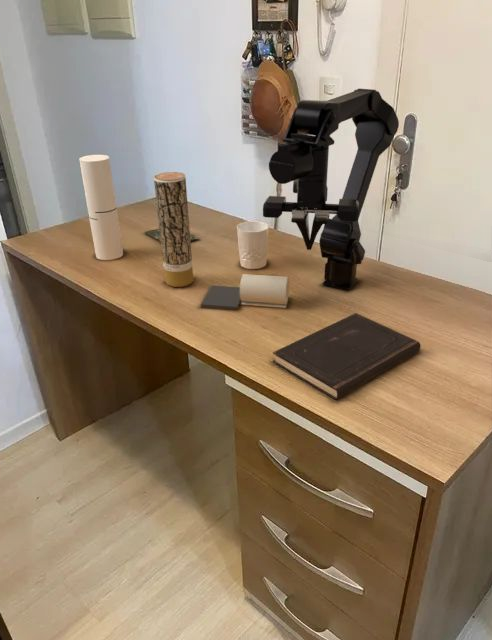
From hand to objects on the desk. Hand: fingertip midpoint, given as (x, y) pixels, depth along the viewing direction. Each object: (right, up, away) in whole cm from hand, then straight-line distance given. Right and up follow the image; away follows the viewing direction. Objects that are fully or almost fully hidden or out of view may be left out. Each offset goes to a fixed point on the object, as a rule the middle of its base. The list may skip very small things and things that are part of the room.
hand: (309, 249), depth 116 cm
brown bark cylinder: (-29, -5, +18) cm, 35 cm away
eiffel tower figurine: (-35, +12, +44) cm, 58 cm away
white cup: (-12, +1, +27) cm, 29 cm away
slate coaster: (-18, -9, +10) cm, 23 cm away
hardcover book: (+6, -23, -12) cm, 26 cm away
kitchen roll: (-9, -8, +7) cm, 14 cm away
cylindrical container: (-50, +5, +33) cm, 60 cm away
